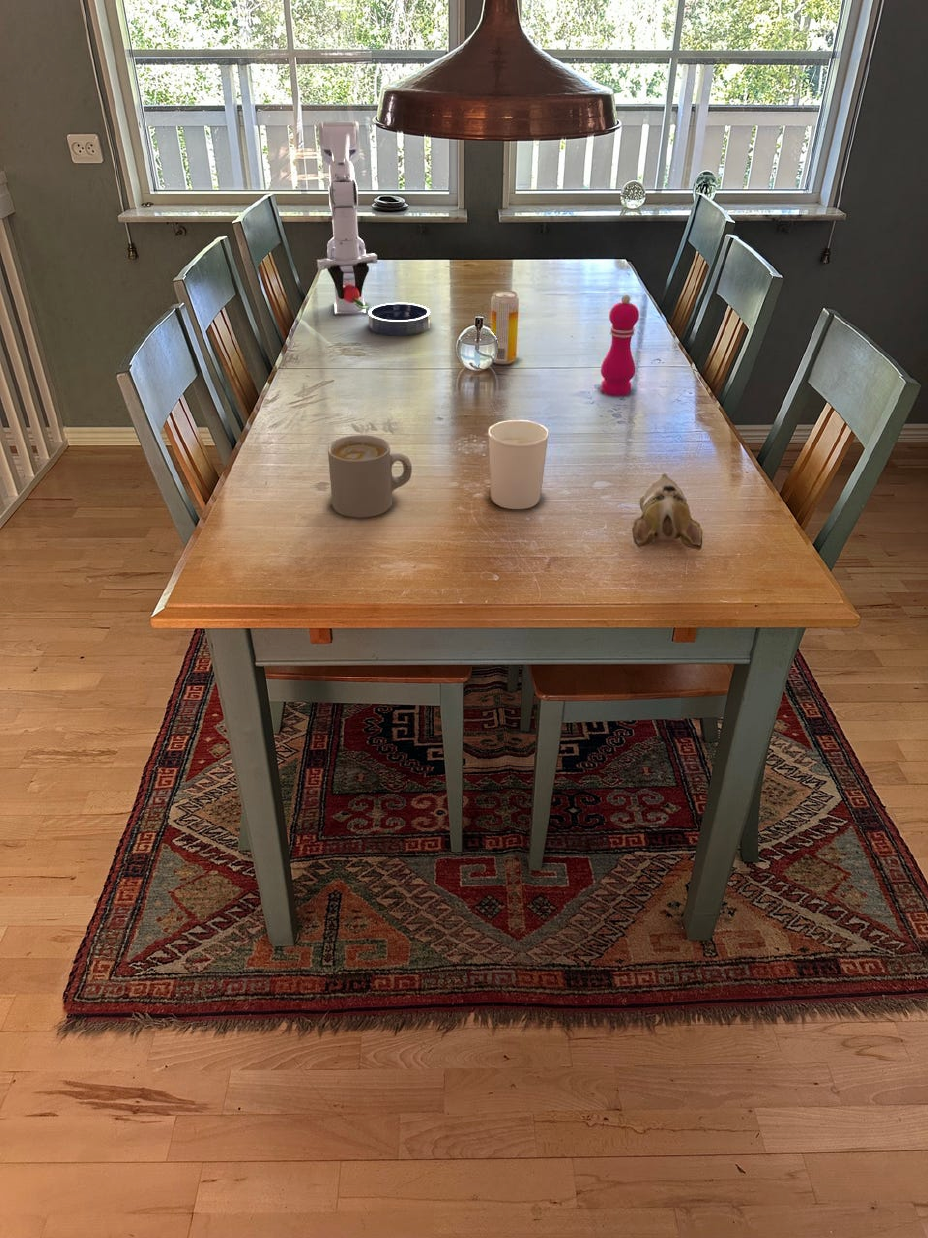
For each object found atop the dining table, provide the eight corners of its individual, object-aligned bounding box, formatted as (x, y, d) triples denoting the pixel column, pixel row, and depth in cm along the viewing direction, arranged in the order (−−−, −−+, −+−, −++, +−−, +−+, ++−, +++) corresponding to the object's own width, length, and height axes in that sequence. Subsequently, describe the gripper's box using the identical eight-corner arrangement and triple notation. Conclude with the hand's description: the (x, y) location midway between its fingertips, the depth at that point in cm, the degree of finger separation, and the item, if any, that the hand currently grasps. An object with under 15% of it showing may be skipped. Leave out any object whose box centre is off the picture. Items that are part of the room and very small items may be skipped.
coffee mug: (331, 518, 145) (326, 462, 139) (333, 490, 153) (328, 435, 147) (414, 515, 146) (413, 459, 140) (411, 487, 154) (409, 433, 148)
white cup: (509, 479, 157) (512, 414, 150) (555, 496, 152) (560, 430, 145) (474, 499, 150) (475, 432, 144) (521, 518, 145) (525, 449, 139)
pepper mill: (631, 398, 188) (643, 301, 176) (597, 395, 189) (607, 298, 178) (633, 385, 194) (645, 291, 182) (600, 383, 195) (609, 288, 183)
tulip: (338, 299, 220) (337, 282, 218) (353, 297, 222) (352, 280, 219) (354, 311, 212) (353, 294, 210) (370, 309, 214) (369, 291, 211)
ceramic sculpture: (699, 465, 142) (712, 516, 130) (691, 512, 147) (702, 564, 135) (632, 462, 142) (638, 513, 131) (626, 509, 148) (631, 561, 136)
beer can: (516, 356, 208) (519, 290, 200) (515, 365, 203) (518, 298, 195) (490, 355, 209) (492, 289, 200) (488, 364, 204) (490, 297, 195)
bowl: (368, 319, 230) (367, 303, 228) (427, 317, 232) (426, 302, 229) (370, 338, 218) (370, 322, 215) (432, 336, 219) (432, 320, 217)
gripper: (322, 244, 205) (327, 304, 212) (381, 238, 210) (383, 297, 218) (312, 237, 210) (317, 297, 217) (369, 231, 215) (372, 289, 223)
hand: (349, 296), depth 218 cm, fingers closed on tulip, 4 cm apart
